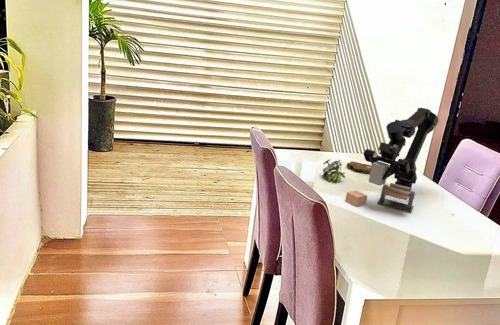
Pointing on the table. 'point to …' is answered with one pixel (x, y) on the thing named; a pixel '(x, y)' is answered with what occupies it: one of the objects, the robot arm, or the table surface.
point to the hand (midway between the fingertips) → (376, 177)
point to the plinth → (356, 198)
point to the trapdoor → (397, 191)
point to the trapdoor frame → (395, 204)
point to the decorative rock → (359, 167)
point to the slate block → (378, 173)
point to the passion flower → (334, 167)
